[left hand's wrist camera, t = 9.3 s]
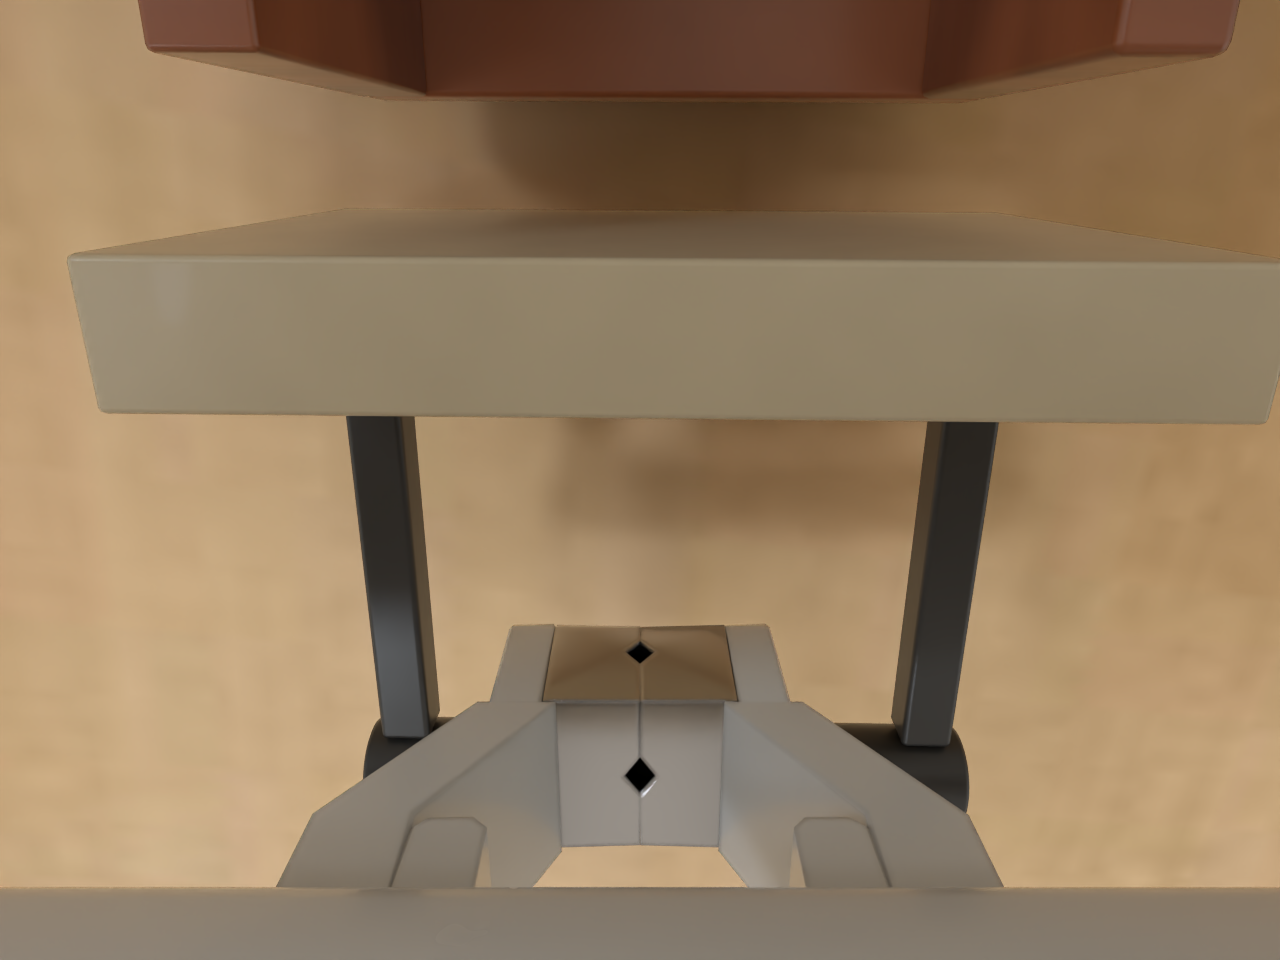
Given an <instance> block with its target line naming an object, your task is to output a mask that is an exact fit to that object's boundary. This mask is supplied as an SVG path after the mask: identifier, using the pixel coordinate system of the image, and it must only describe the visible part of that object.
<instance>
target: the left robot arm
mask: <svg viewBox="0 0 1280 960" xmlns="http://www.w3.org/2000/svg"><path fill="white" fill-rule="evenodd" d="M621 845H656V846H693V847H719V849H718V851H719V852H720V853H721V855H722V856H723V857H724V858H725V859H726V861H727V862H728V863H729V864H730V866H731V867H732V868H733V869H734V871H735V872H736V873H737V874H738V876H739V877H740V878H741V879H742V881H743V882H744V883H745V884H746V886H747V887H533V886H534V885H535V884H536V882H537V881H538V880H539V879H540V878H541V876H542V875H543V874H544V873H545V871H546V870H547V869H548V868H549V866H550V865H551V864H552V863H553V862H554V860H555V859H556V858H557V857H558V855H559V854H560V853H561V852H562V849H561V847H586V846H621ZM0 960H1280V887H1004V886H1003V884H1002V882H1001V880H1000V878H999V876H998V874H997V872H996V870H995V868H994V866H993V864H992V862H991V860H990V858H989V856H988V854H987V852H986V850H985V848H984V846H983V844H982V841H981V839H980V837H979V835H978V833H977V831H976V829H975V827H974V825H973V823H972V821H971V819H970V817H969V815H968V814H966V813H965V812H963V811H962V810H960V809H959V808H957V807H956V806H955V805H953V804H952V803H950V802H949V801H947V800H946V799H944V798H943V797H941V796H940V795H938V794H937V793H935V792H934V791H933V790H931V789H930V788H928V787H927V786H925V785H924V784H922V783H921V782H919V781H918V780H916V779H915V778H913V777H912V776H911V775H909V774H908V773H906V772H905V771H903V770H902V769H900V768H899V767H897V766H896V765H894V764H893V763H891V762H890V761H889V760H887V759H886V758H884V757H883V756H881V755H880V754H878V753H877V752H875V751H874V750H872V749H871V748H869V747H868V746H867V745H865V744H864V743H862V742H861V741H859V740H858V739H856V738H855V737H853V736H852V735H850V734H849V733H848V732H846V731H845V730H843V729H842V728H840V727H839V726H837V725H836V724H834V723H833V722H831V721H830V720H828V719H827V718H826V717H824V716H823V715H821V714H820V713H818V712H817V711H815V710H814V709H812V708H811V707H809V706H808V705H806V704H805V703H803V702H790V699H789V695H788V691H787V688H786V684H785V681H784V677H783V674H782V670H781V666H780V663H779V659H778V656H777V652H776V648H775V645H774V641H773V638H772V634H771V631H770V627H769V626H767V625H766V624H750V625H727V626H724V625H704V626H663V627H640V626H588V625H557V626H555V625H554V624H534V625H514V626H512V627H511V628H510V629H509V633H508V637H507V640H506V644H505V648H504V651H503V655H502V659H501V662H500V666H499V669H498V673H497V677H496V680H495V684H494V688H493V691H492V695H491V698H490V702H477V703H475V704H474V705H472V706H471V707H469V708H468V709H466V710H465V711H463V712H462V713H460V714H459V715H457V716H456V717H454V718H453V719H451V720H450V721H449V722H447V723H446V724H444V725H443V726H441V727H440V728H438V729H437V730H435V731H434V732H432V733H431V734H429V735H428V736H426V737H425V738H423V739H422V740H421V741H419V742H418V743H416V744H415V745H413V746H412V747H410V748H409V749H407V750H406V751H404V752H403V753H401V754H400V755H398V756H397V757H395V758H394V759H393V760H391V761H390V762H388V763H387V764H385V765H384V766H382V767H381V768H379V769H378V770H376V771H375V772H373V773H372V774H370V775H369V776H367V777H366V778H365V779H363V780H362V781H360V782H359V783H357V784H356V785H354V786H353V787H351V788H350V789H348V790H347V791H345V792H344V793H342V794H341V795H339V796H338V797H337V798H335V799H334V800H332V801H331V802H329V803H328V804H326V805H325V806H323V807H322V808H320V809H319V810H317V811H316V812H314V813H313V814H312V816H311V818H310V820H309V822H308V824H307V826H306V828H305V830H304V832H303V834H302V836H301V838H300V840H299V842H298V844H297V846H296V848H295V850H294V852H293V854H292V856H291V858H290V860H289V862H288V864H287V866H286V868H285V870H284V872H283V874H282V876H281V878H280V880H279V882H278V884H277V886H276V887H0Z"/></svg>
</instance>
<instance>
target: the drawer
mask: <svg viewBox="0 0 1280 960" xmlns="http://www.w3.org/2000/svg"><path fill="white" fill-rule="evenodd" d="M1239 2H1240V0H138V3H139V9H140V15H141V21H142V26H143V32H144V38H145V44H146V46H147V48H148V49H149V50H150V51H152V52H154V53H158V54H163V55H168V56H173V57H178V58H182V59H187V60H192V61H197V62H201V63H206V64H211V65H216V66H221V67H225V68H230V69H235V70H240V71H244V72H249V73H254V74H259V75H264V76H268V77H273V78H278V79H283V80H287V81H292V82H297V83H302V84H307V85H311V86H316V87H321V88H326V89H331V90H335V91H340V92H345V93H350V94H354V95H359V96H369V97H372V98H376V99H381V100H399V101H630V102H861V103H962V102H968V101H973V100H978V99H984V98H990V97H995V96H1001V95H1006V94H1012V93H1017V92H1023V91H1028V90H1034V89H1039V88H1045V87H1050V86H1056V85H1061V84H1067V83H1072V82H1078V81H1084V80H1089V79H1095V78H1100V77H1106V76H1111V75H1117V74H1122V73H1128V72H1133V71H1139V70H1144V69H1150V68H1155V67H1161V66H1166V65H1172V64H1177V63H1183V62H1188V61H1194V60H1200V59H1205V58H1211V57H1214V56H1216V55H1219V54H1221V53H1223V52H1225V51H1226V50H1227V48H1228V46H1229V44H1230V42H1231V40H1232V35H1233V30H1234V26H1235V21H1236V16H1237V11H1238V7H1239ZM67 264H68V269H69V273H70V278H71V283H72V287H73V292H74V296H75V301H76V306H77V310H78V315H79V320H80V324H81V329H82V334H83V338H84V343H85V347H86V352H87V357H88V361H89V366H90V371H91V375H92V380H93V385H94V389H95V394H96V399H97V403H98V408H99V409H100V411H101V412H104V413H116V414H218V415H320V416H346V420H347V428H348V437H349V446H350V454H351V463H352V472H353V480H354V489H355V498H356V507H357V515H358V524H359V533H360V541H361V550H362V559H363V567H364V576H365V585H366V593H367V602H368V611H369V620H370V628H371V637H372V646H373V654H374V663H375V672H376V680H377V689H378V698H379V706H380V715H381V718H380V719H379V720H378V721H377V722H376V724H375V726H374V728H373V730H372V732H371V735H370V738H369V741H368V745H367V749H366V754H365V761H364V771H363V779H365V778H366V777H367V776H369V775H370V774H372V773H373V772H375V771H376V770H378V769H379V768H381V767H382V766H384V765H385V764H387V763H388V762H390V761H391V760H393V759H394V758H395V757H397V756H398V755H400V754H401V753H403V752H404V751H406V750H407V749H409V748H410V747H412V746H413V745H415V744H416V743H418V742H419V741H421V740H422V739H423V738H425V737H426V736H428V735H429V734H431V733H432V732H434V731H435V730H437V729H438V728H440V727H441V726H443V725H444V724H446V723H447V722H449V721H450V720H451V719H453V718H454V717H438V714H439V711H440V706H439V694H438V683H437V671H436V660H435V649H434V637H433V626H432V614H431V603H430V591H429V580H428V568H427V557H426V545H425V534H424V522H423V511H422V499H421V488H420V476H419V465H418V453H417V442H416V431H415V419H414V416H422V417H524V418H626V419H728V420H829V421H928V422H927V430H926V438H925V447H924V455H923V463H922V471H921V479H920V487H919V495H918V503H917V512H916V520H915V528H914V536H913V544H912V552H911V560H910V568H909V577H908V585H907V593H906V601H905V609H904V617H903V625H902V633H901V642H900V650H899V658H898V666H897V674H896V682H895V690H894V699H893V707H892V715H891V718H892V721H893V723H894V724H872V723H834V724H836V725H837V726H839V727H840V728H842V729H843V730H845V731H846V732H848V733H849V734H850V735H852V736H853V737H855V738H856V739H858V740H859V741H861V742H862V743H864V744H865V745H867V746H868V747H869V748H871V749H872V750H874V751H875V752H877V753H878V754H880V755H881V756H883V757H884V758H886V759H887V760H889V761H890V762H891V763H893V764H894V765H896V766H897V767H899V768H900V769H902V770H903V771H905V772H906V773H908V774H909V775H911V776H912V777H913V778H915V779H916V780H918V781H919V782H921V783H922V784H924V785H925V786H927V787H928V788H930V789H931V790H933V791H934V792H935V793H937V794H938V795H940V796H941V797H943V798H944V799H946V800H947V801H949V802H950V803H952V804H953V805H955V806H956V807H957V808H959V809H960V810H962V811H963V812H965V813H966V812H967V807H968V800H969V774H968V766H967V761H966V756H965V752H964V749H963V745H962V743H961V740H960V738H959V736H958V734H957V732H956V731H955V730H954V729H953V728H952V726H953V720H954V713H955V707H956V700H957V693H958V687H959V680H960V674H961V667H962V661H963V654H964V647H965V641H966V634H967V628H968V621H969V615H970V608H971V601H972V595H973V588H974V582H975V575H976V569H977V562H978V555H979V549H980V542H981V536H982V529H983V523H984V516H985V510H986V503H987V496H988V490H989V483H990V477H991V470H992V464H993V457H994V450H995V444H996V437H997V431H998V424H999V422H1033V423H1135V424H1237V425H1258V424H1263V423H1265V422H1266V421H1267V420H1268V417H1269V413H1270V409H1271V406H1272V402H1273V398H1274V394H1275V390H1276V387H1277V383H1278V379H1279V375H1280V259H1279V258H1273V257H1267V256H1261V255H1255V254H1248V253H1242V252H1236V251H1230V250H1224V249H1217V248H1211V247H1205V246H1199V245H1193V244H1187V243H1180V242H1174V241H1168V240H1162V239H1156V238H1150V237H1143V236H1137V235H1131V234H1125V233H1119V232H1112V231H1106V230H1100V229H1094V228H1088V227H1082V226H1075V225H1069V224H1063V223H1057V222H1051V221H1045V220H1038V219H1032V218H1026V217H1020V216H1014V215H1007V214H1001V213H984V212H823V211H662V210H501V209H341V210H335V211H329V212H322V213H316V214H310V215H304V216H298V217H292V218H286V219H280V220H274V221H268V222H261V223H255V224H249V225H243V226H237V227H231V228H225V229H219V230H213V231H207V232H200V233H194V234H188V235H182V236H176V237H170V238H164V239H158V240H152V241H146V242H139V243H133V244H127V245H121V246H115V247H109V248H103V249H97V250H91V251H84V252H78V253H74V254H72V255H70V256H68V259H67Z"/></svg>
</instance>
